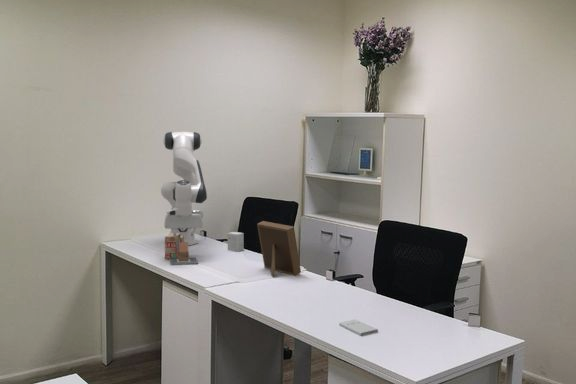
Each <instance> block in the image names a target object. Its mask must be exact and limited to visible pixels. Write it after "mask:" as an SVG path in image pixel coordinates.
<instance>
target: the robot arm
mask: <svg viewBox="0 0 576 384" xmlns="http://www.w3.org/2000/svg"><path fill="white" fill-rule="evenodd" d="M202 142H203V141H202V137H201V134H200V133H199V132H196V131H194V132H193V131H173V132H172V131H168V132H166V133H165V134H164V136H163V145H164V148H165V149H166V150H170V151H172V157H173V158H172V159H173V160H172V171H173V173H174V174H175V175H176V176H178V177H180V178H182V180H178V181H169V182H164V183H163V184H162V185H161V188H160V194H161V196H162V197H163V199H165V200H166V201H168V203H169V204H170V206H171V207H172V208H169V209H167V210H166V215H165V217H164V229H166V230H167V229H168V230H169V229H170V232H169V233H173V237H176V233H180V236H184V242H188V246H192V245H195V244H196V245H197V244H198V243H199V242H198V241H197V240H196V239H195V238H196V237H195V233H196V231H197V229H201V228H203V218H204V213H203V211H201V210H192V209H193V204H192V203H195V204H203V203H204V202H205V201H206V200H207V198H208V190H207V189H206V185H205V180H204V177H203V173H202V168H201V165H200V161H199V160H198V159H197V158H195V156H194V153H193V152H195V151H196V150H199V149H200V147H201V145H202Z"/></svg>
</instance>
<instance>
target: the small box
mask: <svg viewBox="0 0 576 384" xmlns="http://www.w3.org/2000/svg"><path fill="white" fill-rule="evenodd" d="M244 235H245V234H244V232H239V231H238V232H237V231H231V232H227V251H230V252H241V251H244V247H245V246H244V245H245V244H244V240H245V239H244V238H245V237H244Z"/></svg>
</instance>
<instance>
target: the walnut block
mask: <svg viewBox="0 0 576 384" xmlns="http://www.w3.org/2000/svg"><path fill="white" fill-rule="evenodd" d="M189 255H190V253H189V251H188V252H179V256H178V258H179V262H182V261H189Z"/></svg>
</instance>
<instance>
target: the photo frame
mask: <svg viewBox="0 0 576 384" xmlns="http://www.w3.org/2000/svg"><path fill="white" fill-rule="evenodd" d="M256 226H257V231H258V238H259V242H260V249H261V254H262V255H261V256H262V259H263V261H262V262H263V266H264V267H263V268H265V269H269V270H270V276H271V277H272V278H274V276H275V271H277V272H279V273H284V274H288V275H292V276H298V274H300V273H302V271H301V263H300V257H299V251H298V244H297V237H296V232H295V231H296V230H295V226H293V225H287V224H282V223H278V222H277V223H275V222H271V221H266V220H262V221H260V222H258V223H257V224H256Z"/></svg>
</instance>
